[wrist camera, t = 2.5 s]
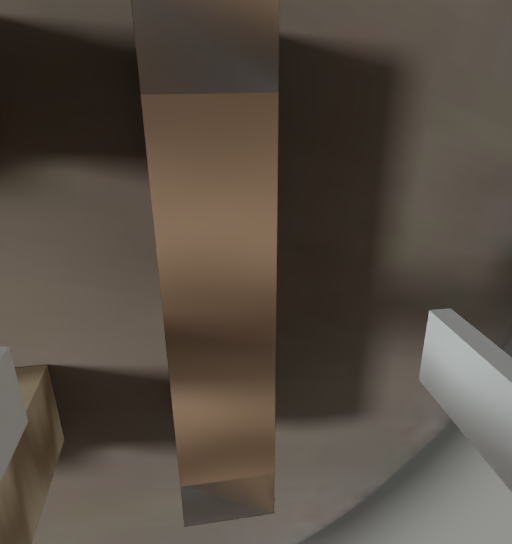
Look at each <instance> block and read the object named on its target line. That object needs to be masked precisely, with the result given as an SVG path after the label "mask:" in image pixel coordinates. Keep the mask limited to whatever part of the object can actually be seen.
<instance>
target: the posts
mask: <svg viewBox="0 0 512 544" xmlns="http://www.w3.org/2000/svg"><path fill="white" fill-rule="evenodd" d="M15 371H16V375H17V379H18V383H19V387H20V391H21V395H22V399H23V403H24V407H25V411H26V415H27V419H28V423H27V425H26V427H25V430H24V432H23V434H22V436H21V438H20V440H19V443H18V445H17V447H16V449H15V451H14V453H13V456H12V458H11V460H10V462H9V464H8V466H7V469H6V471H5V473H4V475H3V477H2V479H1V482H0V544H32V541H33V538H34V535H35V532H36V528H37V525H38V522H39V519H40V516H41V512H42V509H43V506H44V503H45V500H46V497H47V493H48V490H49V487H50V484H51V481H52V477H53V474H54V471H55V468H56V465H57V461H58V458H59V455H60V452H61V449H62V445H63V442H64V436H63V431H62V427H61V422H60V418H59V414H58V409H57V405H56V400H55V396H54V392H53V387H52V383H51V378H50V374H49V370H48V365H40V366H30V367H20V368H15Z"/></svg>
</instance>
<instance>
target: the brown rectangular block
mask: <svg viewBox="0 0 512 544" xmlns="http://www.w3.org/2000/svg"><path fill="white" fill-rule="evenodd" d="M131 5H132V15H133V25H134V34H135V44H136V54H137V64H138V74H139V84H140V93H141V103H142V113H143V123H144V133H145V143H146V153H147V162H148V172H149V182H150V192H151V202H152V212H153V221H154V231H155V241H156V251H157V261H158V271H159V281H160V290H161V300H162V310H163V320H164V330H165V340H166V350H167V359H168V369H169V379H170V389H171V399H172V409H173V418H174V428H175V438H176V448H177V458H178V468H179V478H180V487H181V497H182V507H183V517H184V527H188V526H194V525H201V524H207V523H214V522H220V521H227V520H233V519H240V518H246V517H253V516H259V515H266V514H272V513H274V476H275V383H276V289H277V196H278V102H279V9H280V0H131Z"/></svg>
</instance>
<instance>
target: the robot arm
mask: <svg viewBox="0 0 512 544" xmlns="http://www.w3.org/2000/svg"><path fill="white" fill-rule="evenodd" d="M419 380H420V382H421V383H422V384H423V385H424V386H425V388H426V389H427V390H428V391H429V392H430V394H431V395H432V396H433V397H434V399H435V400H436V401H437V402H438V403H439V405H440V406H441V407H442V408H443V409H444V411H445V412H446V413H447V414H448V416H449V417H450V418H451V419H452V420H453V422H454V423H455V424H456V425H457V426H458V427H459V429H460V430H461V431H462V432H463V434H464V435H465V436H466V437H467V439H468V440H469V441H470V442H471V443H472V445H473V446H474V447H475V448H476V449H477V451H478V452H479V453H480V454H481V455H482V457H483V458H484V459H485V460H486V462H487V463H488V464H489V465H490V466H491V468H492V469H493V470H494V471H495V472H496V474H497V475H498V476H499V477H500V479H501V480H502V481H503V482H504V483H505V485H506V486H507V487H508V488H509V489H510V490H511V492H512V357H510V356H509V355H508V354H507V353H505V352H504V351H503V350H502V349H500V348H499V347H498V346H497V345H495V344H494V343H493V342H492V341H491V340H489V339H488V338H487V337H486V336H484V335H483V334H482V333H481V332H479V331H478V330H477V329H476V328H474V327H473V326H472V325H471V324H469V323H468V322H467V321H466V320H464V319H463V318H462V317H461V316H459V315H458V314H457V313H456V312H454V311H453V310H452V309H451V308H448V309H437V310H429V315H428V321H427V328H426V334H425V341H424V348H423V354H422V361H421V367H420V374H419ZM27 423H28V419H27V415H26V411H25V407H24V403H23V399H22V395H21V391H20V387H19V383H18V379H17V375H16V371H15V367H14V364H13V360H12V356H11V352H10V348H9V346H3V347H0V482H1V479H2V477H3V475H4V473H5V471H6V469H7V466H8V464H9V462H10V460H11V458H12V456H13V453H14V451H15V449H16V447H17V445H18V443H19V440H20V438H21V436H22V434H23V432H24V430H25V427H26V425H27Z"/></svg>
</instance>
